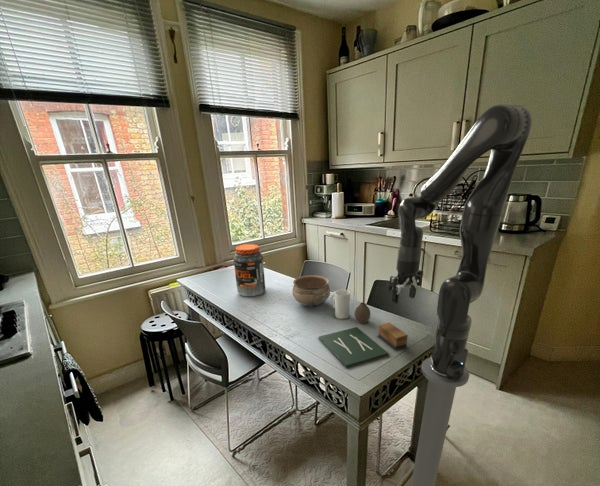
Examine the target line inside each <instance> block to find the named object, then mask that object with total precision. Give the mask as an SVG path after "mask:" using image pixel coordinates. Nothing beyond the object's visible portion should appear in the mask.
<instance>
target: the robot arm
mask: <svg viewBox="0 0 600 486" xmlns="http://www.w3.org/2000/svg"><path fill="white" fill-rule="evenodd" d="M532 125H533V116H532V113H531V110H530V109H529V108H528V107H526V106H524V105H519V104H518V105H517V104H504V103H503V104H497V105H492V106H491V107H488V108H487V109H486V110H485V111H484V112H483V113H481V114H480V116H479V117H478V119H476V121H475V122H474V123H473V125H472V126H471V128H470V129H469V130H468V131H467V133H466V135H464V137H463V138H462V140H461V141H460V142H459V144H458V145H457V147H456V148H455V149H454V150H453V152H452V153H451V155H450V156H449V157H448V159H446V161H445V162H444V163H443V165H441V166H440V167H439V168H438V170H436V172H435V173H433V175H432V176H430V177H429V179H428V180H427V181H426V182H425V183H424V184H423V185H422V186H421V189H420V196H415V197H414V196H413V197H406V198H405V199H403V200H402V201H401V202H400V204H399V207H398V213H397V215H398V222H399V228H400V241H399V247H398V249H397V250H398V251H397V260H396V267H395V268H396V270H397V275H396V276H395V275H394V276H393V275H391V276H389V284H388V290H387V291H388V292H389V293H391V302H392V303H393V304H399V300H400V299H399V298H400V292H402V290H404V289H405V287H407V286H410V287H409V292H408V298H410V299H414V298H415V297H416V293H417V289H418V288H419V287H421V286H422V284H423V283H422V282H423V276H424V275H423V274H424V272H423V270H420V265H421V257H422V244H423V237H424V229H423V228H422V227H420V226H417V225H416V220H423V219H425V218H427V217H429V216H430V215H431V214H432V213H433V212H434V211H435V209H436V208H437V207H438V205H439V204H440V202H441V201H442V200H444V198H446V196H448V195H449V194H450V193H451V192H452V191H453V190H455V188H456V187H458V185H459V184H460V183H461V181H462V179H463V177H464V175H465V174H466V171H467V170H468V169H469V167H470V166H471V165H472V164H473V163H474V162H475V161H477V160H478V159H479V158H480V157H482V156H483V155H485V154H486V153H487V152H489V151H490V153H489V157H488V161H487V165H486V167H485V170H484V172H483V174H482V176H481V178H480V179H479V181H478V182H477V184H476V185H475V187H474V188H473V190H472V191H471V193H470V194H469V196H468V198H467V199H466V202H465V204H464V208H463V211H462V215H461V220H460V225H459V239H460V245H461V258H460V263H459V266H458V269H457V271H456V274H455V275H453V276H451V277H449V278H447V279H445V280H444V281H442V283H441V286H440V288H439V291H438V297H437V298H438V299H437V305H436V306H437V307H436V314H437V318H438V319H437V323H436V324H437V325H436V331H435V335H434V341H433V348H432V354H431V356H430V357H429V358H431V364H430V368H431V370H432V371H433V372H434V373H435V374H437V375H439V376H442V377H446V378H447V379H452V378H453V381H457V380H459V379H460V378H461V375H463V372H464V368H465V367H466V363H467V358H468V354H469V350H468V349H467V345H468V344H467V343H468V339H469V334H470V329H471V326H472V321H473V320H472V317H471V316H470V315H469V309H470V305H471V304H472V303H473V302H475V301H477V300H478V299H479V298H480V297H481V295H482V293H483V291H484V287H485V282H486V281H485V280H486V274H487V267H488V263H489V259H490V256H491V253H492V249H493V247H494V242H495V240H496V236H497V233H498V231H499V227H500V224H501V221H502V216H503V213H504V209H505V206H506V202H507V198H508V195H509V191H510V188H511V185H512V182H513V179H514V175H515V171H516V169H517V166H518V165H519V161H520V159H521V156H522V154H523V152H524V148H525V146H526V144H527V141H528V138H529V137H530V133H531V130H532ZM455 377H457V378H455Z"/></svg>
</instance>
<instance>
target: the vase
mask: <svg viewBox="0 0 600 486" xmlns="http://www.w3.org/2000/svg"><path fill="white" fill-rule="evenodd" d="M370 318H371V310H370V307H369V306H368V305H367V303H366V302H360V303H359V304H358V306H357V307H356V308H355V310H354V319H355V320H356V322H358V323H359V324H366V323H368V321H369V320H370Z"/></svg>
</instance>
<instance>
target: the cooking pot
mask: <svg viewBox="0 0 600 486" xmlns="http://www.w3.org/2000/svg"><path fill="white" fill-rule="evenodd" d="M329 282H330V280H329V278H327V277H324V276H321V275H302V276H299V277H296V278H295V279H294V280H293V282H292V283H293V286H292V290H291V291H292V292H291V293H292V296H293V299H294V300H295V301H296V302H298V303H299V304H301V305H304V306H305V307H309V308H311V307H312V308H313V307H316V306H319V305H322V304H323V303H325V302H326V301H327V300H328V299H329V297H330V296H331V288H330V285H329Z"/></svg>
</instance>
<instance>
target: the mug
mask: <svg viewBox="0 0 600 486" xmlns="http://www.w3.org/2000/svg"><path fill="white" fill-rule="evenodd" d="M330 298H331V299H330V300H331V304H332V307H333V308H334V315H335V318H336V319H339V320H344V319H348V318H349V317H350V303H351V291H350V290H348V289H337V290H334V291H332V294H331V297H330Z"/></svg>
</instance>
